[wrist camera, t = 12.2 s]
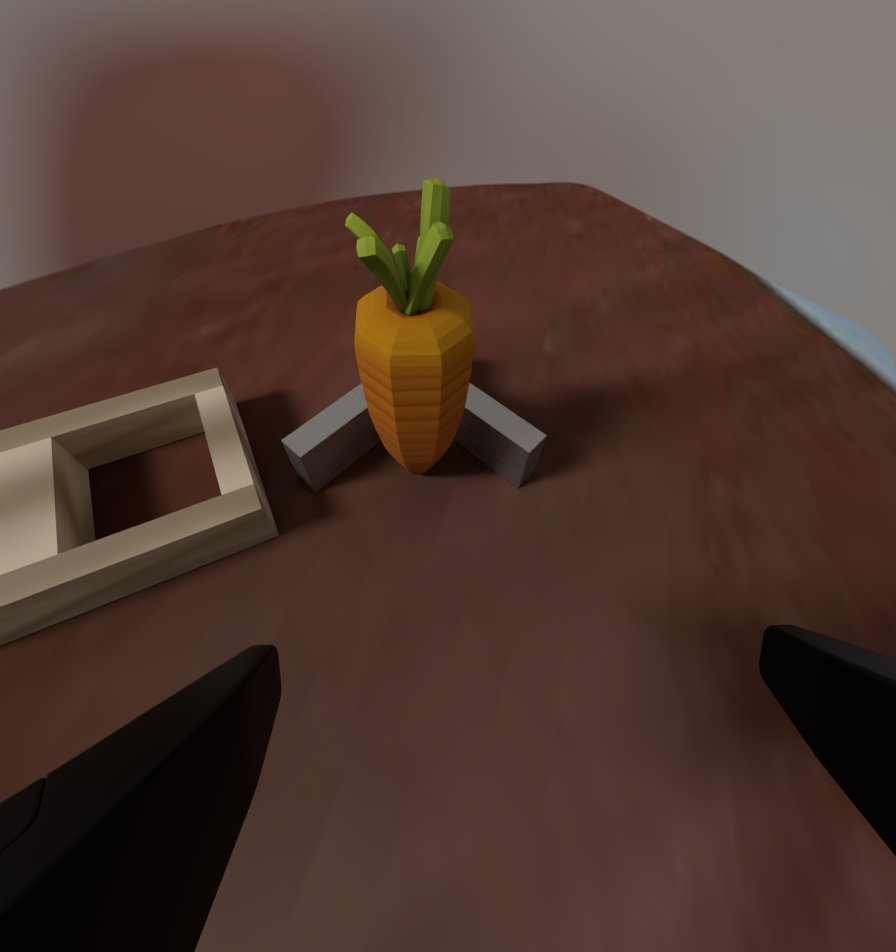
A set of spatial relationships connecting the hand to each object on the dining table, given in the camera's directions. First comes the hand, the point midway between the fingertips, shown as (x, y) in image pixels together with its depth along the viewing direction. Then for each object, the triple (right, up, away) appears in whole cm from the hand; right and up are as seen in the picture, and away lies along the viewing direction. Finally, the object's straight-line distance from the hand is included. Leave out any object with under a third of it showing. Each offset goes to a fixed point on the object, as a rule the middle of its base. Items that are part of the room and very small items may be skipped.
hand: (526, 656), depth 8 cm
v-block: (-3, +6, +20) cm, 21 cm away
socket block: (-19, +2, +16) cm, 25 cm away
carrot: (-3, +3, +18) cm, 19 cm away
